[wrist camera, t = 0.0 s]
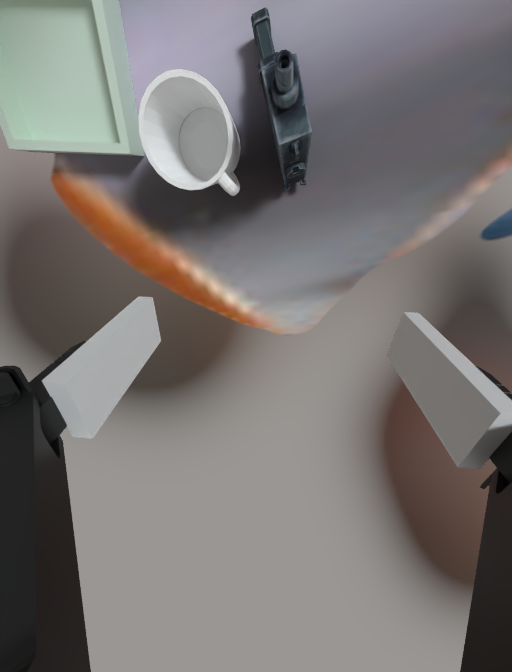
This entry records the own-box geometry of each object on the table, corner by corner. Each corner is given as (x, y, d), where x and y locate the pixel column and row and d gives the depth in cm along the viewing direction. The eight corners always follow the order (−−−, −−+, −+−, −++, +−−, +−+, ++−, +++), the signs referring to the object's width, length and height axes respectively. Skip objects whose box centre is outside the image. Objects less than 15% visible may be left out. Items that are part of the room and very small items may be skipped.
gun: (254, -207, 13) (317, 119, 17) (275, 45, 29) (306, 185, 33) (207, -172, 14) (279, 135, 18) (253, 56, 30) (286, 193, 33)
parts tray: (-28, -28, 26) (-71, -57, 23) (114, -26, 26) (91, -56, 22) (34, 151, 34) (9, 149, 31) (144, 156, 33) (130, 154, 30)
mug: (161, 144, 33) (119, 132, 24) (207, 79, 29) (178, 36, 20) (222, 214, 37) (205, 225, 28) (269, 164, 33) (267, 159, 24)
